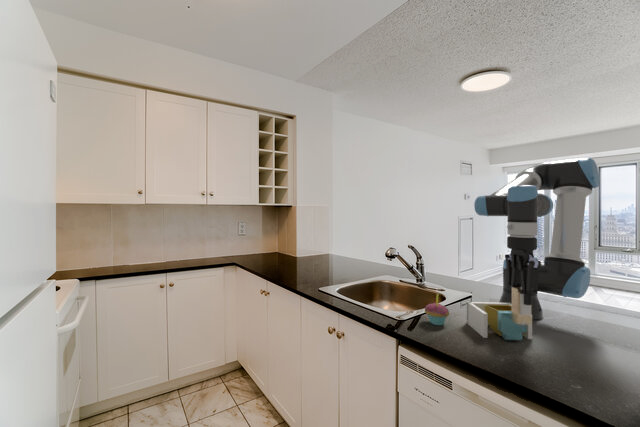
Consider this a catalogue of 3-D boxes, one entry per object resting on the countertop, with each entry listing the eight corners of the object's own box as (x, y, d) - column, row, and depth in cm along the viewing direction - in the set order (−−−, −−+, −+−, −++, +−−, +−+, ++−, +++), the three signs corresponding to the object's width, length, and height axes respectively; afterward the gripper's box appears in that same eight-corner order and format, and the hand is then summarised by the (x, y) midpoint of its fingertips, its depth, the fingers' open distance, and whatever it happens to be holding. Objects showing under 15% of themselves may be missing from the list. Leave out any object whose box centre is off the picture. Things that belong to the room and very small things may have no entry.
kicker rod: (522, 337, 93) (523, 283, 93) (537, 347, 86) (538, 289, 86) (497, 336, 93) (497, 283, 93) (510, 346, 86) (510, 289, 86)
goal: (509, 324, 106) (509, 302, 106) (531, 339, 94) (532, 314, 94) (466, 323, 107) (466, 301, 107) (483, 337, 95) (483, 313, 95)
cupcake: (451, 328, 103) (451, 295, 102) (426, 326, 104) (426, 293, 104) (445, 319, 111) (446, 288, 111) (422, 317, 113) (423, 287, 113)
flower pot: (484, 330, 101) (483, 304, 102) (510, 330, 101) (508, 304, 102) (498, 338, 93) (497, 310, 93) (526, 339, 92) (525, 311, 93)
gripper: (494, 234, 96) (494, 303, 96) (526, 238, 80) (526, 322, 80) (517, 234, 95) (517, 304, 95) (554, 238, 79) (554, 323, 79)
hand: (521, 312), depth 88 cm, fingers closed on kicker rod, 3 cm apart
